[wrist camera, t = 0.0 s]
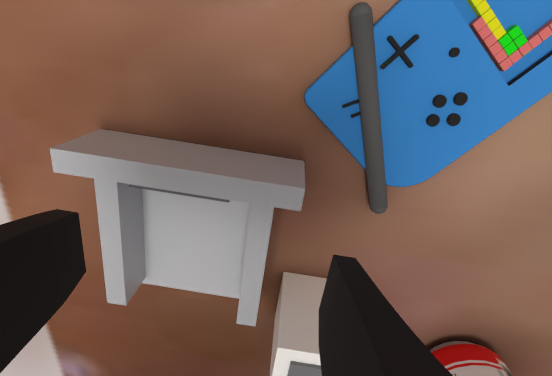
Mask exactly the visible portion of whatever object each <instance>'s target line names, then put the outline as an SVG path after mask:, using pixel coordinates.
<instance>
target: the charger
mask: <svg viewBox="0 0 552 376" xmlns="http://www.w3.org/2000/svg"><path fill="white" fill-rule="evenodd" d="M326 280H327V279H326V278H320V277H314V276H308V275H301V274H295V273H289V272H283V277H282V282H281V287H280V293H279V298H278V303H277V309H276V314H275V324H274V334H273V345H272V356H271V366H270V376H322V372H321V363H320V354H319V307H320V303H321V299H322V295H323V292H324V288H325V284H326Z"/></svg>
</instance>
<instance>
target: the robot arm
mask: <svg viewBox="0 0 552 376" xmlns="http://www.w3.org/2000/svg"><path fill="white" fill-rule="evenodd" d="M85 272H86V267H85V260H84V252H83V245H82V237H81V230H80V222H79V215H78V213H76V212H70V211H64V210H58V209H56V210H52V211H47V212H43V213H39V214H35V215H32V216H28V217H25V218H22V219H18V220H15V221H12V222H8V223H5V224H2V225H0V373H1V372H2V371H3V370H4V368H5V367H6V366H7V365H8V364H9V363H10V362H11V361H12V360H13V359H14V358H15V356H16V355H17V354H18V353H19V352H20V351H21V350H22V349H23V347H24V346H26V344H27V343H28V342H29V341H30V340H31V339H32V338H33V337H34V336H35V335H36V334H37V332H38V331H39V330H40V329H41V328H42V327H43V326H44V325H45V324H46V323H47V321H48V320H49V319H50V318H51V317H52V316H53V315H54V314H55V313H56V311H57V310H58V309H59V308H60V307H61V306H62V305H63V303H64V302H65V301H66V299H67V298H68V297H69V295H70V294H71V293H72V291H73V290H74V288H75V287H76V285H77V284H78V282H79V281H80V280H81V278H82V277H83V275H84V274H85ZM319 354H320V363H321V372H322V376H453V375H452V374H451V373H450V372H449V371H448V370H447V369H446V368H445V367H444V366H443V365H442V364H441V363H440V362H439V360H438V359H437V358H436V357H435V356H434V355H433V354H432V353H431V352H430V351H429V349H428V348H427V347H426V346H425V345H424V344H423V343H422V341H421V340H420V339H419V338H418V337H417V336H416V335H415V334H414V332H413V331H412V330H411V329H410V328H409V327H408V325H407V324H406V323H405V322H404V321H403V319H402V318H401V317H400V316H399V314H398V313H397V312H396V311H395V310H394V308H393V307H392V306H391V304H390V303H389V302H388V301H387V299H386V298H385V297H384V296H383V294H382V293H381V292H380V290H379V289H378V288H377V286H376V285H375V284H374V282H373V281H372V280H371V278H370V277H369V276H368V274H367V273H366V272H365V270H364V269H363V268H362V266H361V265H360V264H359V262H358V261H357V260H356V258H351V257H345V256H339V255H333V258H332V262H331V265H330V269H329V273H328V277H327V280H326V284H325V288H324V292H323V295H322V299H321V303H320V307H319Z"/></svg>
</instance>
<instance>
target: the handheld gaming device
mask: <svg viewBox="0 0 552 376" xmlns="http://www.w3.org/2000/svg"><path fill="white" fill-rule="evenodd" d="M373 29H374V42H375V54H376V66H377V79H378V91H379V104H380V116H381V129H382V141H383V154H384V166H385V179H386V185H390V186H396V187H405V186H411V185H415V184H418V183H421V182H423V181H425V180H427V179H429V178H430V177H432V176H433V175H435V174H436V173H437V172H439V171H440V170H442V169H443V168H445V167H446V166H447V165H449V164H450V163H452V162H453V161H454V160H456V159H457V158H459V157H460V156H461V155H463V154H464V153H466V152H467V151H468V150H470V149H471V148H473V147H474V146H475V145H477V144H478V143H480V142H481V141H482V140H484V139H485V138H487V137H488V136H489V135H491V134H492V133H494V132H495V131H496V130H498V129H499V128H501V127H502V126H504V125H505V124H506V123H508V122H509V121H511V120H512V119H513V118H515V117H516V116H518V115H519V114H520V113H522V112H523V111H525V110H526V109H527V108H529V107H530V106H532V105H533V104H534V103H536V102H537V101H539V100H540V99H541V98H543V97H544V96H546V95H547V94H548V93H550V92H551V91H552V0H399V1H398V2H397V3H396V4H395V5H394V6H393V7H392V8H391V9H390V10H389V11H388V12H387V13H386V14H385V15H384V16H383V17H382V18H381V19H380V20H379V21H378V22H377V23H376V24H374V25H373ZM304 98H305V102H306V104H307V106H308V107H309V108H310V109H311V110H312V111H313V112H314V113H315V114H316V116H317V117H318V118H319V119H320V120H321V121H322V122H323V123H324V124H325V126H326V127H327V128H328V129H329V130H330V131H331V132H332V133H333V134H334V136H335V137H336V138H337V139H338V140H339V141H340V142H341V143H342V144H343V146H344V147H345V148H346V149H347V150H348V151H349V152H350V153H351V154H352V156H353V157H354V158H355V159H356V160H357V161H358V162H359V163H360V165H361V166H362V167H363V168H364V169H365V170H366V166H365V157H364V147H363V138H362V128H361V119H360V115H361V112H360V109H359V99H358V90H357V80H356V71H355V61H354V52H353V46H352V47H350V48H349V49H348V50H347V51H346V52H345V53H344V54H343V55H342V56H341V57H340V58H339V59H338V60H337V61H336V62H335V63H334V64H333V65H332V66H331V67H330V68H329V69H328V70H327V71H325V72H324V73H323V74H322V75H321V76H320V77H319V78H318V79H317V80H316V81H315V82H314V83H313V84H312V85H311V86H310V87H309V88H308V89H307V90H306V92H305V96H304Z"/></svg>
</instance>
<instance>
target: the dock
mask: <svg viewBox="0 0 552 376" xmlns="http://www.w3.org/2000/svg"><path fill="white" fill-rule="evenodd" d="M50 153H51V159H52V165H53V171H54V172H56V173H62V174H69V175H75V176H81V177H88V178H94V183H95V193H96V202H97V211H98V221H99V230H100V239H101V249H102V258H103V267H104V277H105V286H106V295H107V302H108V303H114V304H120V305H127V304H128V302H129V301H130V299H131V298H132V296H133V295H134V293H135V292H136V290H137V289H138V288H139V286H140V285H141V283H145V284H151V285H158V286H164V287H170V288H176V289H182V290H188V291H195V292H201V293H207V294H213V295H219V296H225V297H231V298H238V299H239V306H238V315H237V323H236V324H242V325H249V326H256V320H257V314H258V308H259V302H260V296H261V289H262V283H263V277H264V270H265V264H266V257H267V251H268V245H269V238H270V232H271V225H272V219H273V213H274V207H276V208H282V209H288V210H295V211H301V208H302V203H303V198H304V193H305V165H304V161H302V160H295V159H289V158H283V157H276V156H270V155H264V154H257V153H251V152H245V151H238V150H232V149H226V148H219V147H213V146H207V145H200V144H194V143H188V142H181V141H175V140H169V139H162V138H156V137H150V136H143V135H137V134H131V133H124V132H118V131H112V130H105V129H98V130H96V131H93V132H91V133H88V134H85V135H83V136H80V137H78V138H75V139H72V140H70V141H67V142H65V143H62V144H59V145H57V146H54V147H52V148H50Z"/></svg>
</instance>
